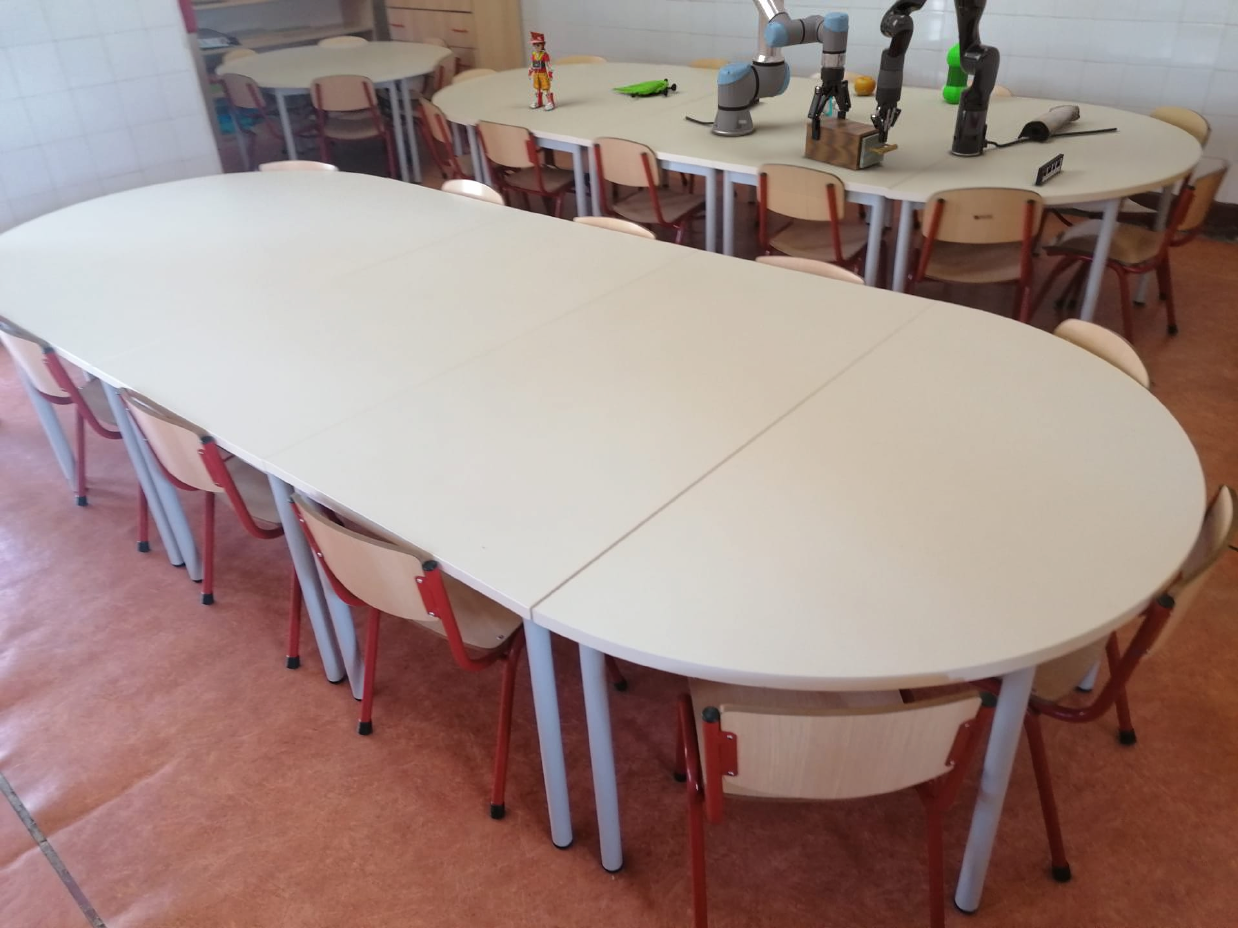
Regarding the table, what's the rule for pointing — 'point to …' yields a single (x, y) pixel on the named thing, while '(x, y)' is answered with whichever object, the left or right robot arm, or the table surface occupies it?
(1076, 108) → the rolled mat
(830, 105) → the anatomical model
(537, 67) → the toy
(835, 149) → the cabinet
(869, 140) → the drawer
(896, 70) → the right robot arm
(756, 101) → the disk drive
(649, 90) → the toy
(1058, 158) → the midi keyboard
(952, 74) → the plastic bottle
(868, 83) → the fruit
